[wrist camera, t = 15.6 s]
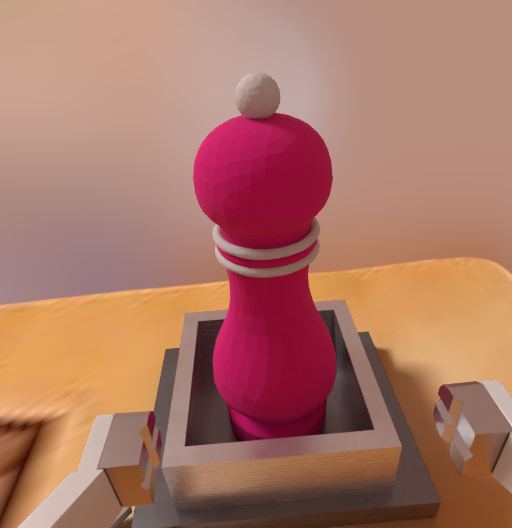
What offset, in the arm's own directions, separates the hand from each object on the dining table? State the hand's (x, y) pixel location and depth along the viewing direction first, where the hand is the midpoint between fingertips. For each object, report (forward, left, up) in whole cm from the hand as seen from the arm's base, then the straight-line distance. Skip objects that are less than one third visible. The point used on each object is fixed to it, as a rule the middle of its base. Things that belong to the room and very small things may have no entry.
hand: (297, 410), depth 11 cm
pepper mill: (0, +9, -12) cm, 16 cm away
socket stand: (0, +10, -14) cm, 17 cm away
